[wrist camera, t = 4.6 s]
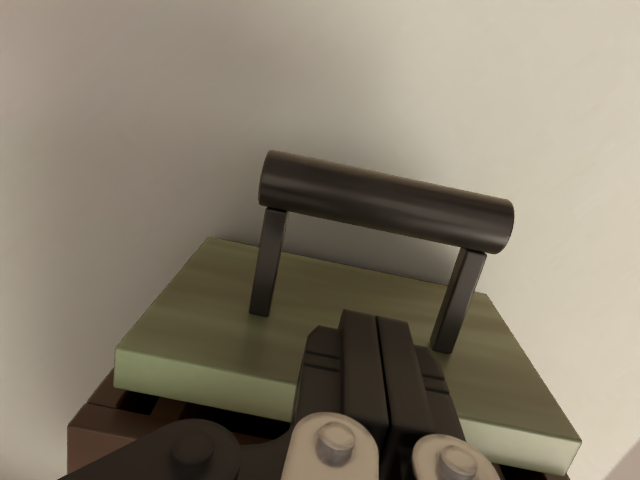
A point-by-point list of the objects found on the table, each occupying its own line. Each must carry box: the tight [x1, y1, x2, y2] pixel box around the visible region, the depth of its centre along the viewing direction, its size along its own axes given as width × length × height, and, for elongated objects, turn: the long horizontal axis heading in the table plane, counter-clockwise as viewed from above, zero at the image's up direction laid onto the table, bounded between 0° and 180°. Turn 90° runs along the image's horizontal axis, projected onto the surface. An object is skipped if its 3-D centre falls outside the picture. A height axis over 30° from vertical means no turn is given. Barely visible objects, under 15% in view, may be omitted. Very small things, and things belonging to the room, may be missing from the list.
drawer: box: [113, 150, 582, 480], centre depth 16 cm, size 18×11×8 cm, turn 168°
